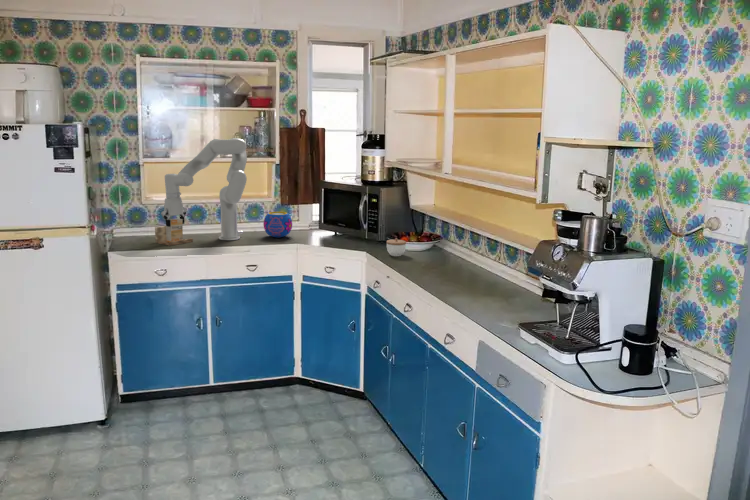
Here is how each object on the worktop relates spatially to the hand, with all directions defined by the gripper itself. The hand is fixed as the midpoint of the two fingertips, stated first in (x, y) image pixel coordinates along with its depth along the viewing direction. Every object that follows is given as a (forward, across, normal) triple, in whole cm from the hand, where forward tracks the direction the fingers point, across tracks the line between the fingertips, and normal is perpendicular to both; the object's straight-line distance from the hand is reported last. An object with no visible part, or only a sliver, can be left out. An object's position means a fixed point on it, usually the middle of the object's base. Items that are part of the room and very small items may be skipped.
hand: (175, 225), depth 373 cm
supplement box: (+10, +1, -1) cm, 10 cm away
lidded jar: (+15, -59, +114) cm, 129 cm away
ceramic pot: (+13, -52, +31) cm, 61 cm away
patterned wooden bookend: (+10, +1, -1) cm, 10 cm away
